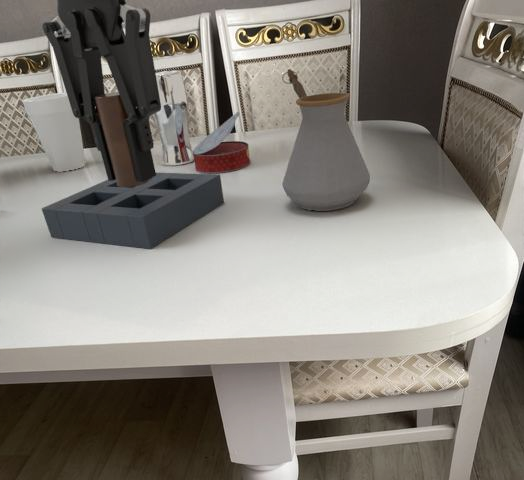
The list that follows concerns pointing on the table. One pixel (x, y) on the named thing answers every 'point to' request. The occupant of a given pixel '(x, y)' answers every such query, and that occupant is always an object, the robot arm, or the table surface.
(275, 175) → the table surface
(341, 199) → the coffee pot
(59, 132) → the foam cup
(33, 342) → the table surface
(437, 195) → the table surface
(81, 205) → the pad base
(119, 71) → the robot arm
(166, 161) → the beer glass
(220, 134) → the canned food
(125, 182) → the peg
